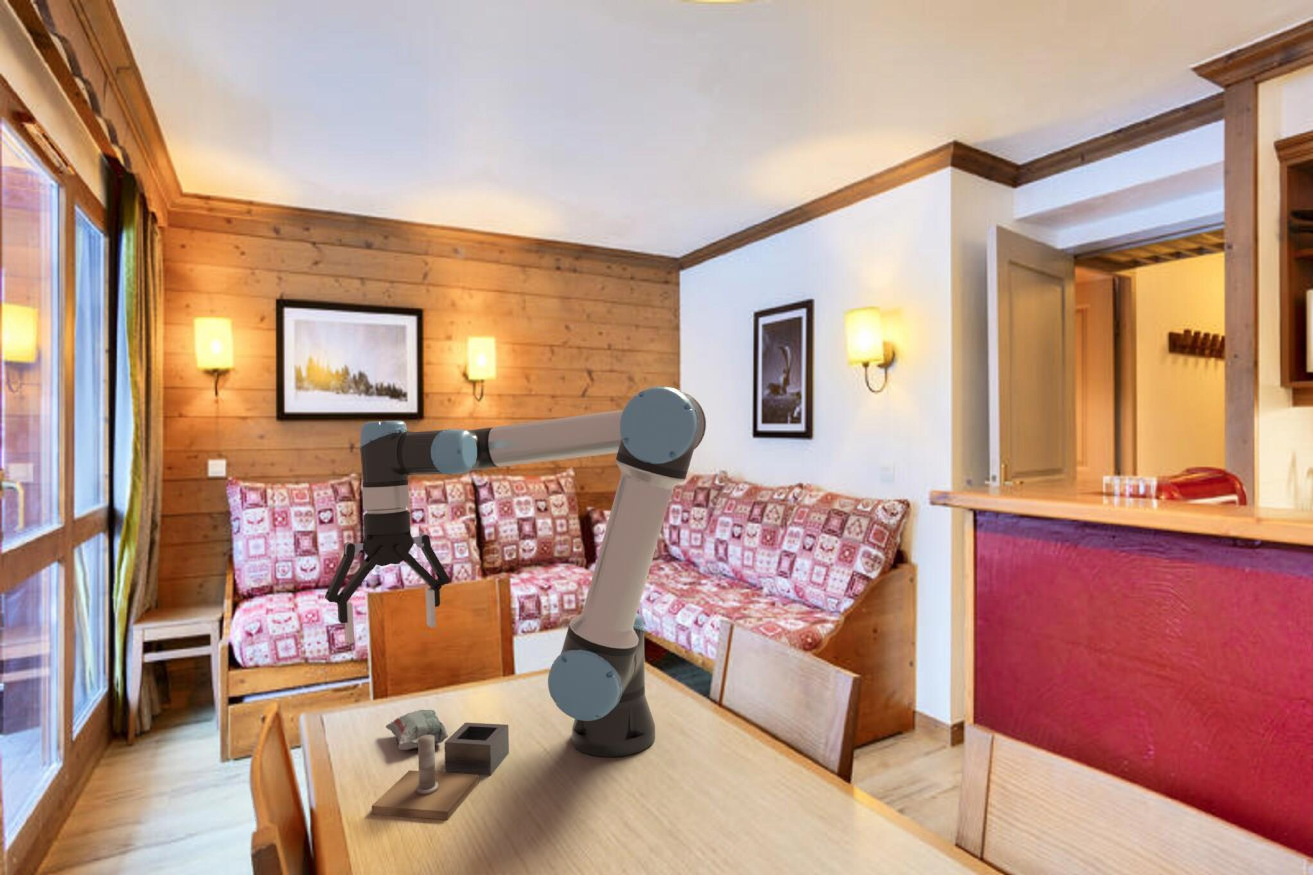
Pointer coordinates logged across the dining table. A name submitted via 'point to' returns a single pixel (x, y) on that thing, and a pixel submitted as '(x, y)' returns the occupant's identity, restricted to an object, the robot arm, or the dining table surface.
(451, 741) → the link
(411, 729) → the packaged food
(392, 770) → the dining table surface
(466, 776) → the stand
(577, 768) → the dining table surface
